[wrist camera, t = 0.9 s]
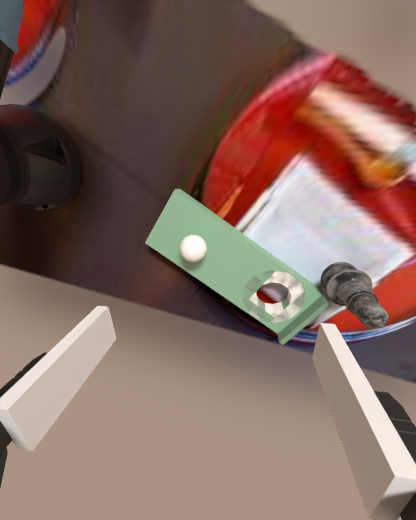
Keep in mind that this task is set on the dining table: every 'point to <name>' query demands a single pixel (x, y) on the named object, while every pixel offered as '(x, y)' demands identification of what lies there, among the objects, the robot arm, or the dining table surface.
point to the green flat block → (236, 266)
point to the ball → (193, 248)
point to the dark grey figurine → (354, 293)
